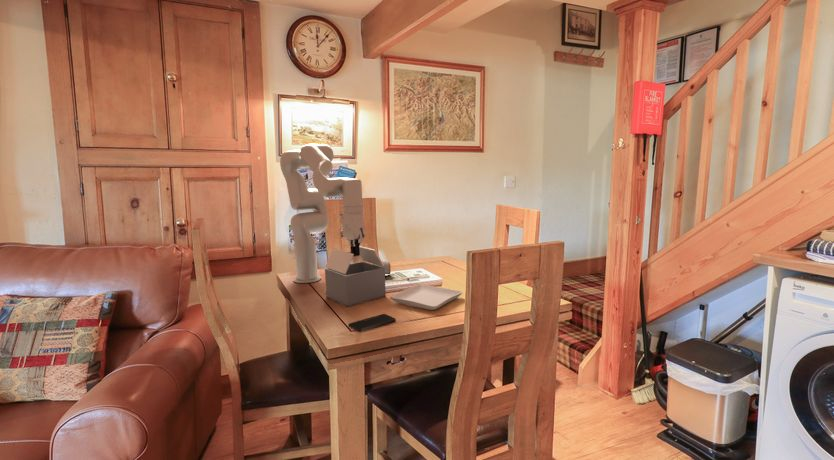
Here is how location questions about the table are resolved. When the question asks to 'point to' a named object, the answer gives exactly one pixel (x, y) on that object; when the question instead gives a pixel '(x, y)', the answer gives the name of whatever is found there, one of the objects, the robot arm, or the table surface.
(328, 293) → the carton
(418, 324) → the table surface
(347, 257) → the flap
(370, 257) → the flap
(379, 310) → the table surface
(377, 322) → the phone
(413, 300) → the salad plate
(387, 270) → the ceramic mug
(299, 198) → the robot arm
